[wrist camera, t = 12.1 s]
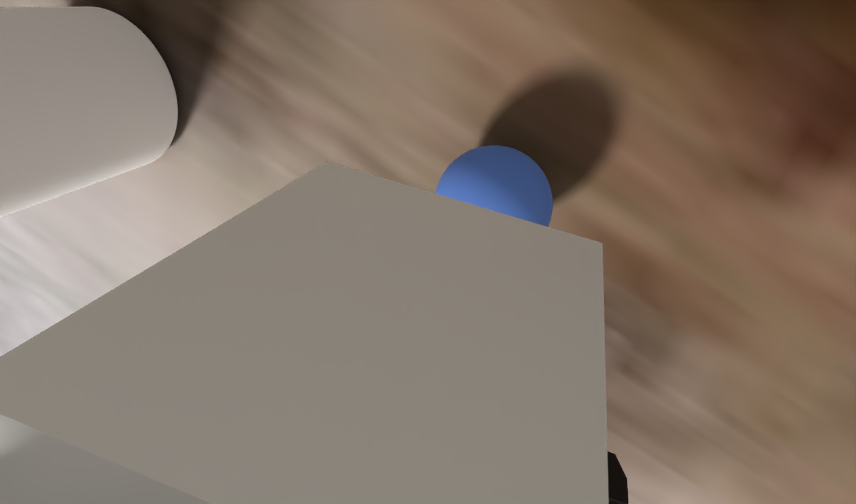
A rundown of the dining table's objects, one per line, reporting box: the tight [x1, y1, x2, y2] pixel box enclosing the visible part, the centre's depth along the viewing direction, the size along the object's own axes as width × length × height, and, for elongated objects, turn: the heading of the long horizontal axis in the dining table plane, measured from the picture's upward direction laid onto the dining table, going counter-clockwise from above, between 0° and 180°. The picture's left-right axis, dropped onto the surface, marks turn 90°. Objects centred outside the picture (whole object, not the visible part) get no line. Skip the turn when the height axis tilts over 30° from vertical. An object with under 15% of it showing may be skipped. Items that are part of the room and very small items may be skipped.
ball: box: [436, 145, 553, 227], centre depth 23 cm, size 5×5×5 cm
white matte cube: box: [0, 161, 609, 504], centre depth 10 cm, size 7×7×9 cm
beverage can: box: [0, 7, 178, 218], centre depth 23 cm, size 8×8×12 cm
